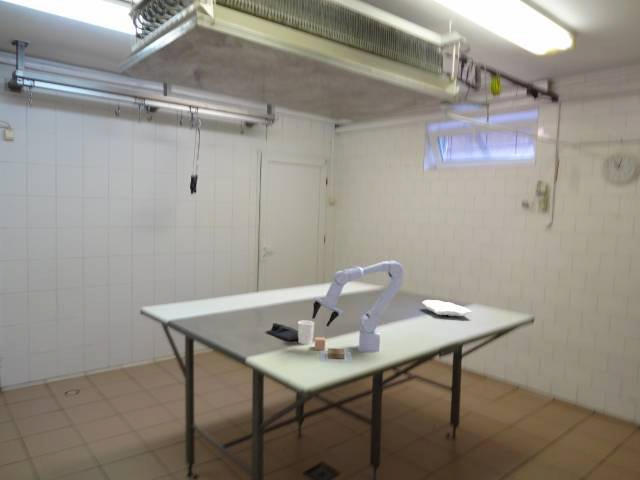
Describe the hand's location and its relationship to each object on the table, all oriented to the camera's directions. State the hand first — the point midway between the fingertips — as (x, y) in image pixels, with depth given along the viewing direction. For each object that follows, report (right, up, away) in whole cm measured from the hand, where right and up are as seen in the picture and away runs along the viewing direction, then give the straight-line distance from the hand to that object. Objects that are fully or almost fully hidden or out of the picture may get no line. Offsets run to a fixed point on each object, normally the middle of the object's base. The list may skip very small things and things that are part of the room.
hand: (320, 322), depth 214 cm
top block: (0, -13, 0) cm, 13 cm away
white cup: (-7, -12, +9) cm, 17 cm away
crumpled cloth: (+78, -10, +80) cm, 113 cm away
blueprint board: (+7, -14, -10) cm, 18 cm away
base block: (+7, -13, -10) cm, 18 cm away
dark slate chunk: (-16, -11, +21) cm, 29 cm away
